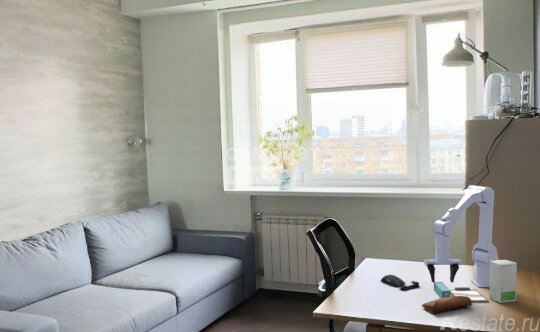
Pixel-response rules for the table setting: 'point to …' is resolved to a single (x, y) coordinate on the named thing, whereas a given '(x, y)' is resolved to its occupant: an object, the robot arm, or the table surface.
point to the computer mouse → (398, 282)
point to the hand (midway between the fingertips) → (442, 281)
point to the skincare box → (503, 281)
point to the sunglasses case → (447, 303)
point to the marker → (442, 289)
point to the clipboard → (469, 294)
